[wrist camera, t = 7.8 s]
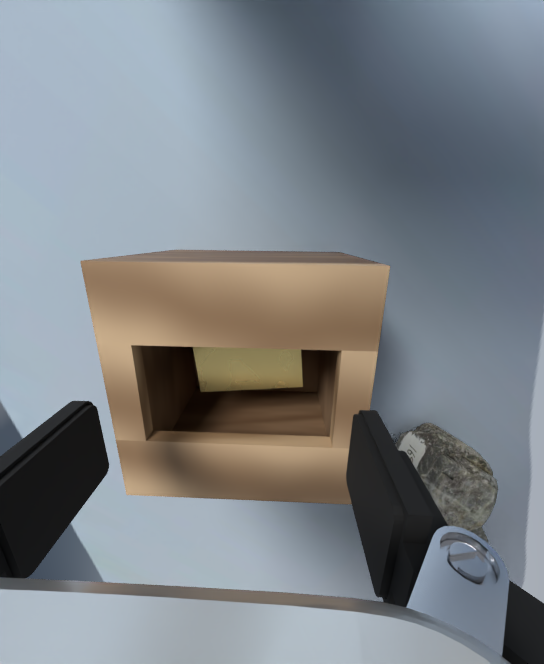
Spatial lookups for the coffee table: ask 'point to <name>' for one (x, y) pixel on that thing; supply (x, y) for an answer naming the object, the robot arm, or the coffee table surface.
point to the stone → (452, 476)
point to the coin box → (236, 332)
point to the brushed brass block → (247, 368)
